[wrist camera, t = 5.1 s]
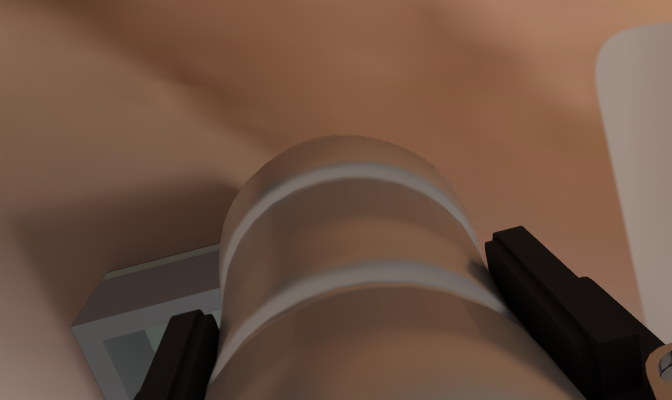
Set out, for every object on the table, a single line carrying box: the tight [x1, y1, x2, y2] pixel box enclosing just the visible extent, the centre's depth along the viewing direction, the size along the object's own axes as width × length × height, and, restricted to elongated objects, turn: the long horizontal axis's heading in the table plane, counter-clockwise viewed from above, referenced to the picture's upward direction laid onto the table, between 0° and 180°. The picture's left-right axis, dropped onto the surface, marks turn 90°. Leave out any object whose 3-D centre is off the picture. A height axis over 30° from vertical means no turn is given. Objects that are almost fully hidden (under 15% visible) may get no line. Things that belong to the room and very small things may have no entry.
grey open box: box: [70, 243, 222, 400], centre depth 33 cm, size 13×12×6 cm
